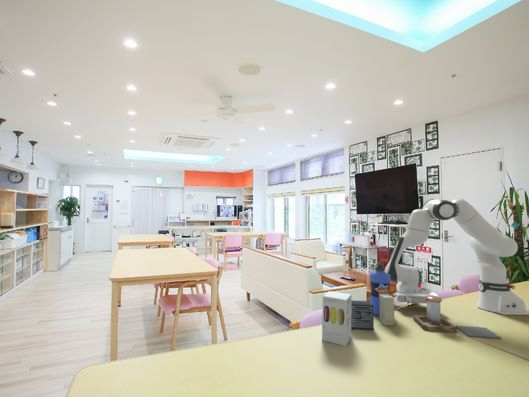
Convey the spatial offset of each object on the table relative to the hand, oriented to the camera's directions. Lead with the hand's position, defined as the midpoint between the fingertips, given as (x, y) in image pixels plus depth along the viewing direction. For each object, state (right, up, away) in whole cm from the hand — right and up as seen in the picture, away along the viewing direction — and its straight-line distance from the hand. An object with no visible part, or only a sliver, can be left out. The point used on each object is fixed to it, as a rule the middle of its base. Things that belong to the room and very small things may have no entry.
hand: (422, 302), depth 141 cm
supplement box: (-48, -5, -28) cm, 56 cm away
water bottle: (-20, -6, +2) cm, 21 cm away
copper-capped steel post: (-2, -6, -12) cm, 13 cm away
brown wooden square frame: (-2, -6, -12) cm, 13 cm away
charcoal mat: (+12, -6, -19) cm, 23 cm away
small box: (-35, -5, -15) cm, 39 cm away
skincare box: (-22, -6, -10) cm, 25 cm away
